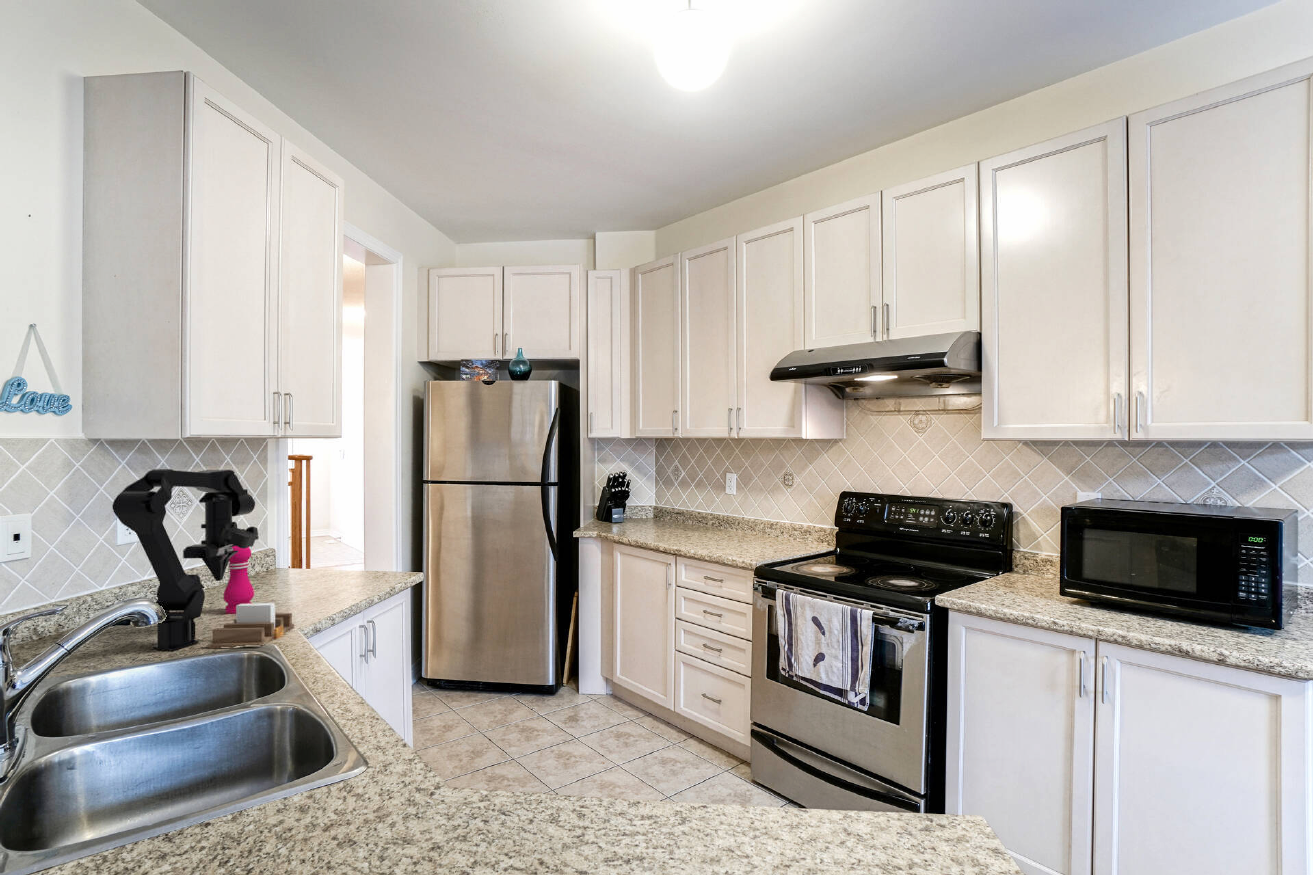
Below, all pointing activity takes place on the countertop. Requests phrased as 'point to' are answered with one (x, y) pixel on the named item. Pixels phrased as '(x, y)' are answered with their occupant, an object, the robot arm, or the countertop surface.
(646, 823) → the countertop surface
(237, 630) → the rack
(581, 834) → the countertop surface
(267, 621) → the panel
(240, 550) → the pepper mill
